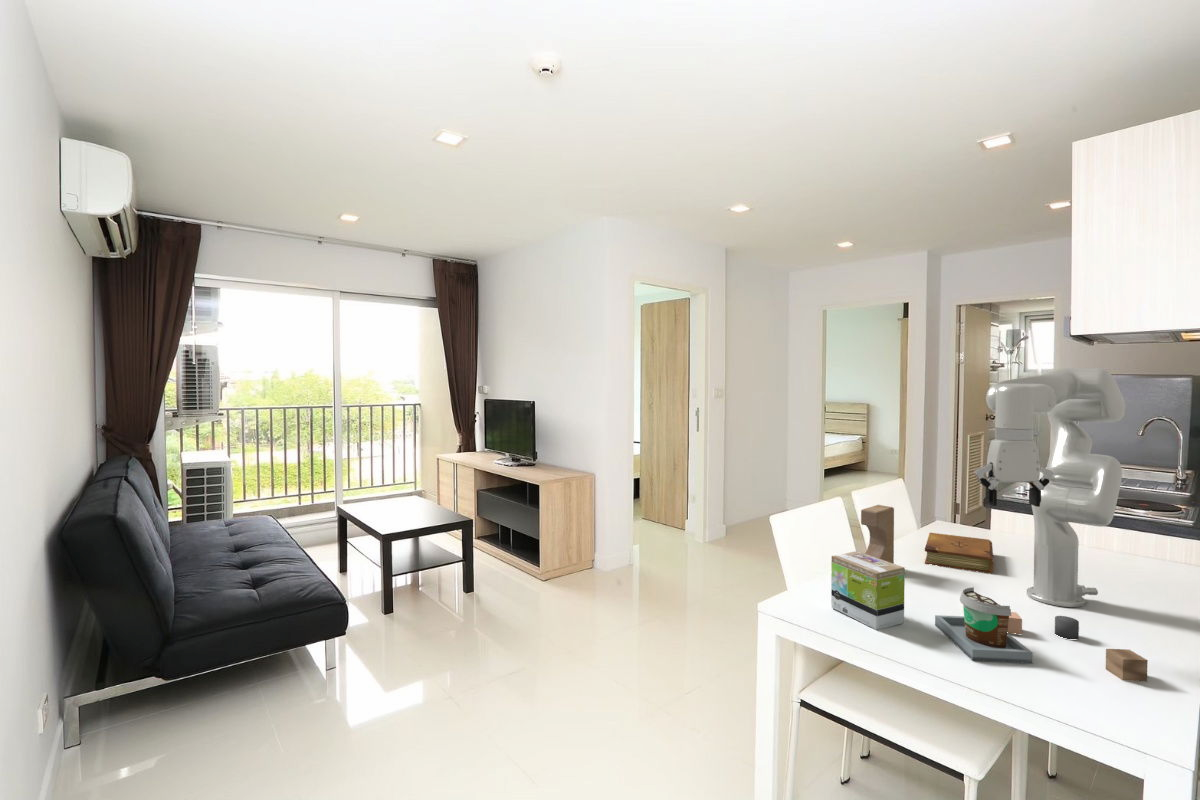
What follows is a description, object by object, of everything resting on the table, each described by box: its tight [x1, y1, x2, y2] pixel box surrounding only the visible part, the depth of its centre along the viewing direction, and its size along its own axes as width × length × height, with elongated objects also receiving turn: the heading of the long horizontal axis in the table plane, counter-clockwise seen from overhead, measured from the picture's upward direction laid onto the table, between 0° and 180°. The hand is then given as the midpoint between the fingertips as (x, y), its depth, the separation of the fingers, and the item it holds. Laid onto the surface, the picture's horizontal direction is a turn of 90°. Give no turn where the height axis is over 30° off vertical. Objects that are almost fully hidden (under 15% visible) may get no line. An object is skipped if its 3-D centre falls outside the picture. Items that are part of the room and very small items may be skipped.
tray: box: [934, 615, 1034, 664], centre depth 132 cm, size 12×18×2 cm, turn 172°
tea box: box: [830, 550, 906, 631], centre depth 148 cm, size 15×10×15 cm, turn 23°
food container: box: [959, 587, 1012, 648], centre depth 132 cm, size 12×6×10 cm, turn 4°
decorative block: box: [860, 504, 895, 564], centre depth 182 cm, size 11×6×20 cm, turn 126°
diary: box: [924, 532, 995, 575], centre depth 192 cm, size 23×19×6 cm
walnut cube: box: [1105, 648, 1148, 682], centre depth 117 cm, size 4×4×4 cm
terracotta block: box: [1008, 611, 1023, 635], centre depth 139 cm, size 5×4×4 cm
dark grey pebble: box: [1054, 615, 1080, 640], centre depth 135 cm, size 4×4×4 cm
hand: (1012, 505), depth 139 cm, fingers open, 9 cm apart
